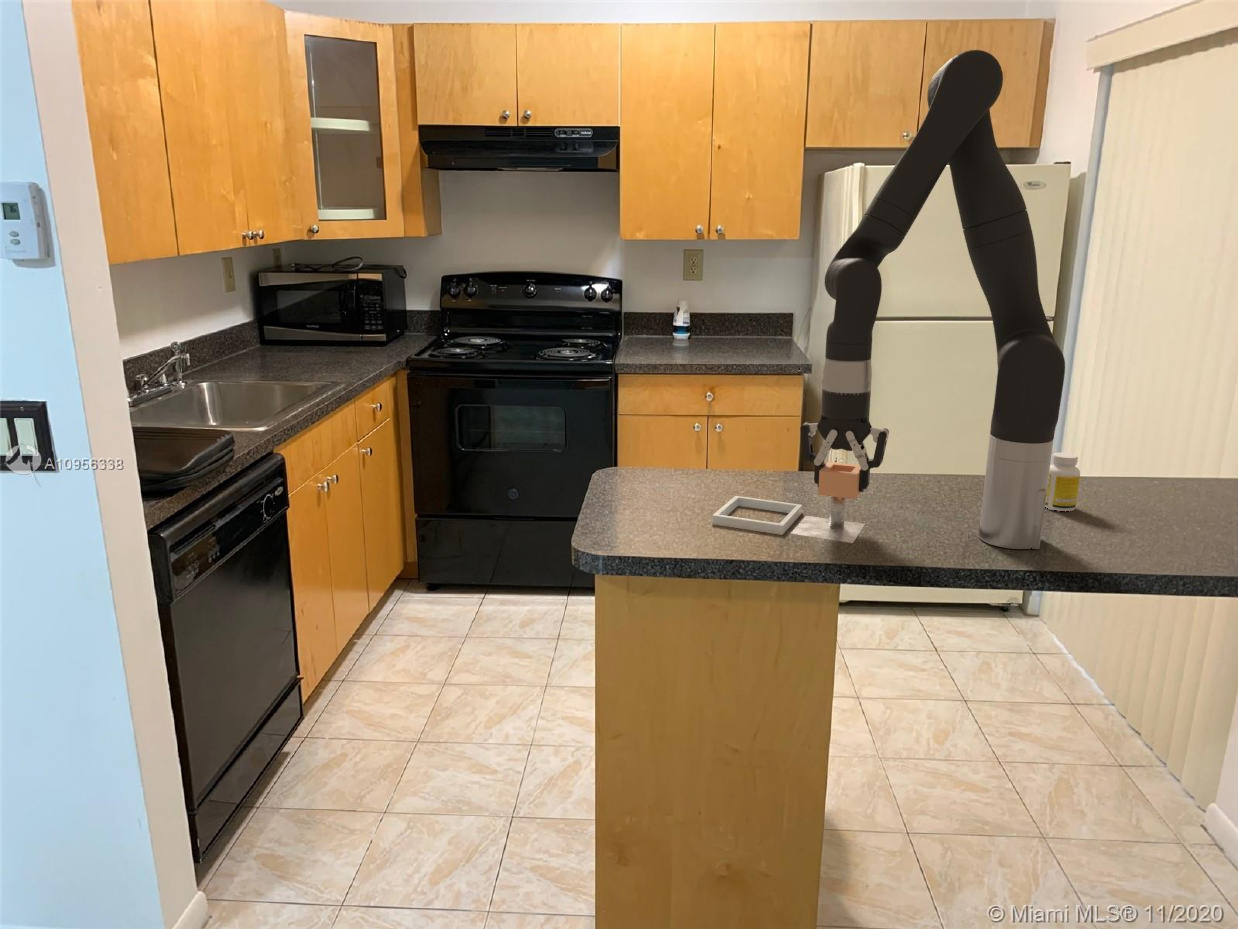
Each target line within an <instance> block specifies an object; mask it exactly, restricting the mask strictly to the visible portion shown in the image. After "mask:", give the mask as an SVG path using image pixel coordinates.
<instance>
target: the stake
mask: <svg viewBox="0 0 1238 929" xmlns="http://www.w3.org/2000/svg"><path fill="white" fill-rule="evenodd" d="M846 503H847V498H841V497H833V496H830V504H829V505H830V507H829V508H830V510H829V518H825V517H818V516H812V515H805V516H804V517H803V518H802V519H801V521H800V522H799V523H797V525H796V527H794V529H793V530H792V531H791V532H790V534H791V535H797V536H802V537H809V538H817V539H823V540H828V541H829V540H830V541H836V542H843V543H848V544H853V543H854V542H855V540H856V539H857V537H858V536H859V535H860V533H861V531H862V530H863V529H864V527H865V525H866V523H861V522H855V521H854V522H853V521H846V519H845V517H846Z"/></svg>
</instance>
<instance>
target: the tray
mask: <svg viewBox="0 0 1238 929" xmlns="http://www.w3.org/2000/svg"><path fill="white" fill-rule="evenodd" d="M738 507H743V508H744V507H745V508H750V509H757V510H758V509H759V510H764V511H771V512H778V513H779V512H780V513H785V514H786V513H787V515H786V516H785V517H784V518H783V519H782V520H781V522H772V521H765V520H760V519H753V518H752V519H751V518H744V517H737V516H731V515H730V514H731V513H732V512H733V511H734V510H735V509H737V508H738ZM802 512H803V504H799V503H792V502H790V503H789V502H783V501H776V500H771V499H762V498H755V497H749V496H748V497H747V496H739V495H735V496H734V497H731V499H730V500H729V501H727V502H726V503H725V504H724V505H723V506H722V507H720V508H719V509H718V510H717V511H715V512H714V513H713V514H712V518H711V519H712V520H711V524H712V525H716V526H723V527H730V528H737V529H742V530H749V531H756V532H762V533H768V534H774V535H780V536H781V535H782V536H783V535H784V534H785V533H786V532H787V531H788V530H789V528H790V527H791V526H792V525H793V524H794V523H795V522H796V521H797V520H798V518H799V517H800V516H801V515H802Z"/></svg>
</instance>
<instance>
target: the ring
mask: <svg viewBox="0 0 1238 929" xmlns="http://www.w3.org/2000/svg"><path fill="white" fill-rule="evenodd" d="M860 469H861V467H860V465H859V464H853V463H840V462H830V461H827V462H826V465H825V466H824V467H823V468H822V469H821V470H820V471H819V488H818V492H817V493H818V496H826V497H831V496H833V497H841V498H846V499H851V500H857V498H858V497H859V495H861V493H862V492H859V475H860V472H859V470H860Z"/></svg>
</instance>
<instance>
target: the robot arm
mask: <svg viewBox="0 0 1238 929" xmlns="http://www.w3.org/2000/svg"><path fill="white" fill-rule="evenodd" d="M1003 74H1004V73H1003V70H1002V66H1001V64H1000V62H999V60H998V59H997V58H996V57H995V56H994V55H993V54H991V53H990V52H987V51H985V50H981V49H971V50H966V51H963V52H960V53H957V54H956V55H954V56H953V57H951V58H950V59H949V60H947V61H946V62H945V63H944V64H943V65H942V66H941V67H940V68H939V69H938V70H937V71H936V72H935V73H934V74H933V76H932V77H931V80H930V82H929V84H928V89H927V91H926V93H927V94H926V96H927V98H926V99H927V100H926V101H927V106H928V111H927V113H926V116H925V117H924V120H923V121H922V123H921V124H920V127H919V129H918V131H917V132H916V134H915V136H914V137H913V139H912V140H911V143H910V144H909V146H907V148H906V149H905V151H904V152H903V154H902V156H900V158H899V160H898V161H897V162H896V164H895V165H894V166H893V167H892V169H891V171H890V172H889V174H887V176H886V178H885V180H884V181H883V183H882V184H881V185H880V186H879V189H878V190H877V192H876V193H875V195H874V197H873V199H872V201H871V202H870V204H869V206H868V207H867V209H866V210H865V213H864V214H863V216H862V217H861V220H860V222H859V224H858V225H857V227H856V229H855V230H854V231H853V232H852V233H851V234H850V236H849V237H848V238H847V240H845V241H844V243H843V244H842V246H841V247H840V248H839V250H837V252H836V254H835V255H834V257H833V259H832V260H831V261H830V263H829V265H828V267H827V268H826V269H827V270H826V272H825V274H824V288H825V290H826V293H827V294H828V295H829V296H830V298H831V299H833V300H835V304H834V312H833V319H832V320H833V321H831V322H830V323H829V324H828V327H827V330H826V335H825V336H826V337H825V341H826V342H825V354H824V355H825V358H824V365H823V370H822V379H821V402H820V405H821V406H820V418H819V421H818V422H813V423H811V422H808V421H807V422H804V423H803V424H802V425H801V426H800V428H799V430H800V431H799V432H800V440H801V447H802V458H803V460H804V461H806V462H811V463H812V464H813V465H814V474H813V482H814V484H815V485H817V488H818V489H819V471H820V470H821V469H822V468H823V467H824V466H825V465H826V463H827V462H826V463H825V460H826V458H827V456H828V454H829V453H830V451H831V450H836V451H837V450H844V451H847V452H853V455H854V456H855V458H856V460H857V462H858V465H860V467H861V469H860V470H859V472H860V475H859V492H861V493H864V492H865V490H867V489H868V487H869V485H870V478H871V477H870V475H871V469H874V468H879V467H880V466H881V464H882V463H883V461H884V456H885V451H886V448H887V447H886V446H887V442H888V439H889V433H890V430H889V429H888V428H884V427H883V428H882V429H880V428H875V427H872V424H871V422H870V411H871V410H870V409H871V392H872V377H873V376H872V374H873V372H872V368H873V367H872V352H873V351H872V349H873V330H874V325H875V323H876V319H877V316H878V311H879V309H880V308H879V307H880V303H881V298H882V289H883V287H882V286H883V284H882V275H881V272H880V269H879V266H880V265H881V264H882V262H883V261H884V259H885V258H886V256H887V255H888V254H890V253H893V252H895V251H896V250H897V249H898V248H899V247H900V246H901V244H902V242H903V241H904V239H905V237H906V236H907V235H908V233H909V231H910V229H911V228H912V226H913V225H914V223H915V220H916V219H917V217H918V216H919V214H920V212H921V211H922V209H923V207H924V205H925V203H927V200H928V198H929V196H930V194H931V193H932V191H933V189H934V187H935V186H936V184H937V182H938V180H939V178H940V177H941V175H942V174H943V172H944V170H945V169H946V167H947V165H949V170H950V174H951V180H952V185H953V186H952V187H953V192H954V196H955V199H956V200H955V201H956V204H957V209H958V214H959V218H960V222H961V226H962V233H963V236H964V240H965V243H966V248H967V252H968V256H969V259H970V261H971V262H970V263H971V264H972V267H973V270H974V273H975V275H976V278H977V280H978V282H979V285H980V288H981V290H982V292H983V295H984V297H985V299H986V302H987V305H988V307H989V312H990V315H991V320H992V326H993V331H994V332H993V333H994V337H995V344H996V345H995V346H996V358H997V359H996V360H997V362H996V363H997V375H996V385H995V391H994V392H995V393H994V400H993V401H994V403H993V408H992V409H993V410H992V416H991V421H990V431H989V441H988V447H987V458H986V467H985V475H984V484H983V493H982V500H981V509H980V510H981V511H980V518H979V527H978V529H979V530H978V538H979V539H980V540H981V541H983V542H985V543H986V544H989V545H991V546H994V547H995V546H996V547H1000V548H1004V549H1012V550H1028V549H1029V550H1030V549H1031V548H1032V550H1033V549H1034V550H1040V548H1041V540H1042V535H1043V534H1042V533H1043V524H1044V517H1045V509H1046V508H1045V503H1046V496H1047V486H1048V478H1049V470H1050V465H1051V463H1052V462H1051V461H1052V460H1051V459H1052V456H1053V445H1054V439H1055V431H1056V428H1057V425H1058V421H1059V416H1060V408H1061V403H1062V396H1063V389H1064V388H1063V387H1064V381H1065V373H1066V360H1065V357H1064V353H1063V352H1062V350H1061V348H1060V347H1059V345H1058V344H1057V342H1056V340H1055V338H1054V335H1053V333H1052V330H1051V327H1050V325H1049V321H1048V319H1047V317H1046V313H1045V310H1044V308H1043V304H1042V300H1041V297H1040V296H1041V295H1040V290H1039V280H1038V279H1039V277H1038V276H1039V275H1038V263H1037V253H1036V252H1037V251H1036V245H1035V239H1034V234H1033V229H1032V226H1031V221H1030V216H1029V213H1028V210H1027V206H1026V203H1025V199H1024V196H1023V194H1022V192H1021V190H1020V187H1019V186H1018V185H1019V184H1017V181H1016V180H1015V178H1014V176H1013V175H1012V173H1011V171H1010V170H1009V167H1007V165H1006V162H1005V161H1004V160H1003V158H1002V156H1001V153H1000V151H999V149H998V148H999V147H998V145H997V142H996V139H995V138H996V137H995V132H994V129H993V123H992V117H991V116H992V115H991V112H990V111H991V108H992V107H993V106H994V105H995V103H996V101H997V100H998V98H999V97H1000V94H1001V92H1002V88H1003V85H1004V75H1003ZM816 431H818V433H819V434H820V436H821V437H822V438H823V440H824V442H823V443H822V445H821V447H820V449H819V450H818V453H816V452H815V451H814V442H813V437H814V436H815V435H816ZM869 435H870V436H872V441H873V442H874V443H875V449H874V454H873V458H870V457H869V454H868V452H867V450H868V449H867V448H866V446H865V442H864V441H865V440H866V439H867V437H869Z"/></svg>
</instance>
